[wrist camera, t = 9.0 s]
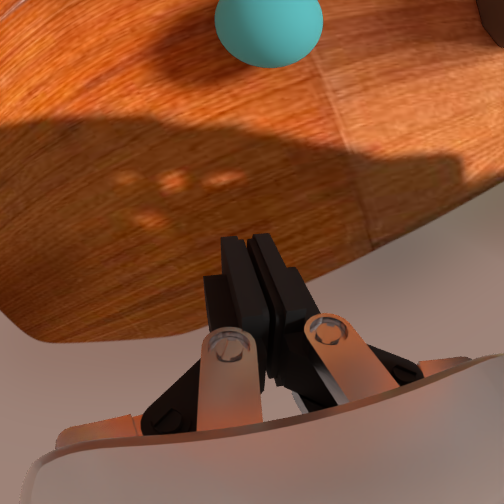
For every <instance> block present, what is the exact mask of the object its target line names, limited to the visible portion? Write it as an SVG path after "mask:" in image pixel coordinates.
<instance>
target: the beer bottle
mask: <svg viewBox="0 0 504 504" xmlns="http://www.w3.org/2000/svg"><path fill="white" fill-rule="evenodd" d="M476 1H477V5H478V9H479V13H480V17H481V21H482V25H483V27H484V28H485V29H486V31H487V32H488V33H489V34H490V36H491V37H492V38H493V39H494V41H495V42H496V43H497V45H498V46H500V47H502V48H504V0H476Z"/></svg>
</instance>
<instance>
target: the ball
mask: <svg viewBox="0 0 504 504" xmlns="http://www.w3.org/2000/svg"><path fill="white" fill-rule="evenodd" d="M215 28H216V32H217V35H218V37H219V39H220V41H221V43H222V44H223V46H224V47H225V48H226V50H227V51H228V52H230V53H231V54H232V55H233V56H234V57H236V58H237V59H239V60H240V61H242V62H245V63H247V64H250V65H253V66H256V67H262V68H277V67H283V66H287V65H290V64H293V63H295V62H297V61H299V60H300V59H302V58H304V57H305V56H306V55H307V54H309V53H310V51H311V50H312V49H313V48H314V47H315V45H316V44H317V42H318V40H319V38H320V36H321V32H322V28H323V15H322V10H321V7H320V5H319V3H318V1H317V0H219V2H218V5H217V8H216V11H215Z"/></svg>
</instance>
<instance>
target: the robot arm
mask: <svg viewBox="0 0 504 504" xmlns="http://www.w3.org/2000/svg"><path fill="white" fill-rule="evenodd" d="M221 260H222V274H221V275H211V276H203V280H204V291H205V301H206V310H207V318H208V324H209V331H210V333H209V334H208V335H207V336H206V337H205V339H204V340H203V344H202V350H201V358H200V359H199V361H197V362H196V363H195V364H194V365H193V366H192V367H191V368H190V369H189V370H188V371H187V372H186V373H185V374H184V375H183V376H182V377H181V378H179V380H177V381H176V382H175V383H174V384H173V385H172V386H171V387H170V388H169V389H168V390H167V391H166V392H165V393H164V394H162V395H161V396H160V397H159V398H158V399H157V400H156V401H155V402H154V403H153V404H152V405H151V406H149V408H147V410H146V411H145V412H144V414H143V415H139V416H135V417H132V416H131V414H129V415H125V416H121V417H117V418H112V419H108V420H103V421H98V422H94V423H89V424H84V425H79V426H74V427H70V428H67V429H65V430H64V431H63V432H61V433H60V434H59V436H58V438H57V440H56V447H55V450H53V451H51V452H49V453H47V454H45V455H43V456H42V457H40V458H39V459H37V460H36V461H35V462H34V463H33V464H32V465H31V467H30V468H29V470H28V471H27V473H26V476H25V479H24V481H23V485H22V489H21V494H20V501H19V504H504V353H499V354H492V355H486V356H482V357H479V358H475V359H470V358H468V357H454V358H447V359H438V360H429V361H419V362H418V364H417V365H416V364H415V363H413V362H411V361H409V360H407V359H404V358H401V357H399V356H396V355H394V354H391V353H389V352H386V351H384V350H381V349H378V348H376V347H373V346H371V345H368V344H366V343H365V342H364V341H363V339H362V338H361V337H360V336H359V334H358V333H357V332H356V331H355V329H354V328H353V327H352V326H351V325H350V323H349V322H348V321H346V320H345V319H344V318H342V317H340V316H337V315H334V314H327V313H322V314H321V313H320V311H319V309H318V308H317V306H316V304H315V302H314V300H313V298H312V296H311V294H310V292H309V290H308V289H307V287H306V285H305V283H304V281H303V279H302V277H301V275H300V274H299V272H298V270H297V269H296V267H288V268H286V266H285V264H284V262H283V260H282V258H281V256H280V254H279V252H278V250H277V248H276V246H275V244H274V242H273V240H272V238H271V236H270V234H269V233H264V234H253V237H252V239H248V240H247V248H246V245H245V242H244V240H243V239H242V240H238V237H237V236H229V237H221ZM266 372H267V375H268V377H269V378H270V379H271V378H274V379H275V383H276V386H284V387H285V388H287V389H290V390H292V395H293V398H294V400H295V402H296V404H297V406H298V408H299V409H300V411H301V413H302V415H297V416H292V417H288V418H283V419H278V420H272V421H268V422H263V419H262V407H261V396H260V395H261V393H262V392H263V391H264V385H265V373H266Z"/></svg>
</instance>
